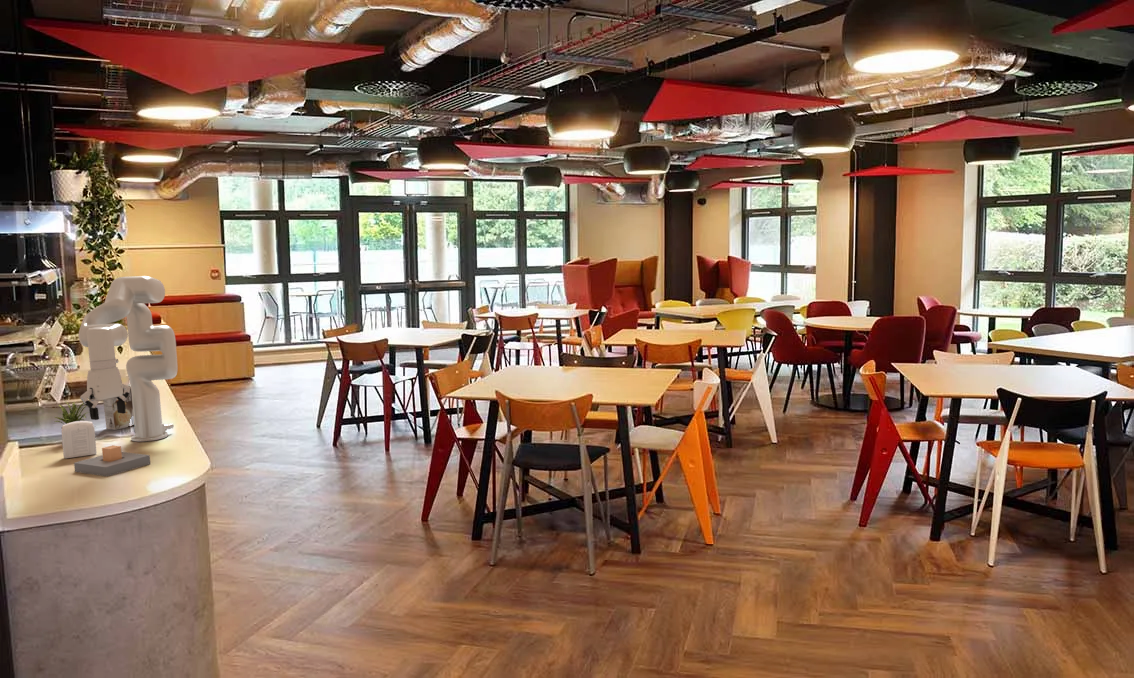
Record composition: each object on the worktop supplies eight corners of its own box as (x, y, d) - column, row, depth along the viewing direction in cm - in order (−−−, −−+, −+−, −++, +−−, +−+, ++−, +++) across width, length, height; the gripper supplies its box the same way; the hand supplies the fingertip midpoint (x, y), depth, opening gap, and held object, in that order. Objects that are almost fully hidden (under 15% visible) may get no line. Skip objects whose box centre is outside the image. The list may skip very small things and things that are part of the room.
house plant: (105, 437, 342) (101, 395, 340) (87, 445, 328) (83, 402, 326) (68, 438, 341) (63, 396, 339) (48, 447, 328) (43, 403, 326)
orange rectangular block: (115, 465, 297) (113, 445, 296) (122, 466, 295) (120, 446, 294) (103, 468, 293) (101, 448, 292) (111, 469, 291) (109, 449, 291)
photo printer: (96, 452, 317) (92, 418, 315) (97, 454, 313) (94, 420, 312) (63, 457, 311) (59, 422, 310) (64, 459, 308) (60, 424, 306)
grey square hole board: (118, 459, 305) (118, 451, 304) (150, 463, 297) (149, 455, 297) (74, 471, 290) (73, 462, 290) (106, 476, 283) (106, 467, 283)
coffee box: (127, 424, 365) (123, 385, 363) (136, 425, 362) (132, 386, 360) (105, 428, 357) (101, 389, 355) (114, 430, 354) (110, 390, 352)
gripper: (119, 360, 299) (124, 409, 302) (70, 368, 284) (76, 421, 286) (134, 361, 296) (139, 411, 298) (85, 370, 281) (91, 423, 283)
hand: (108, 416), depth 292 cm, fingers open, 9 cm apart
